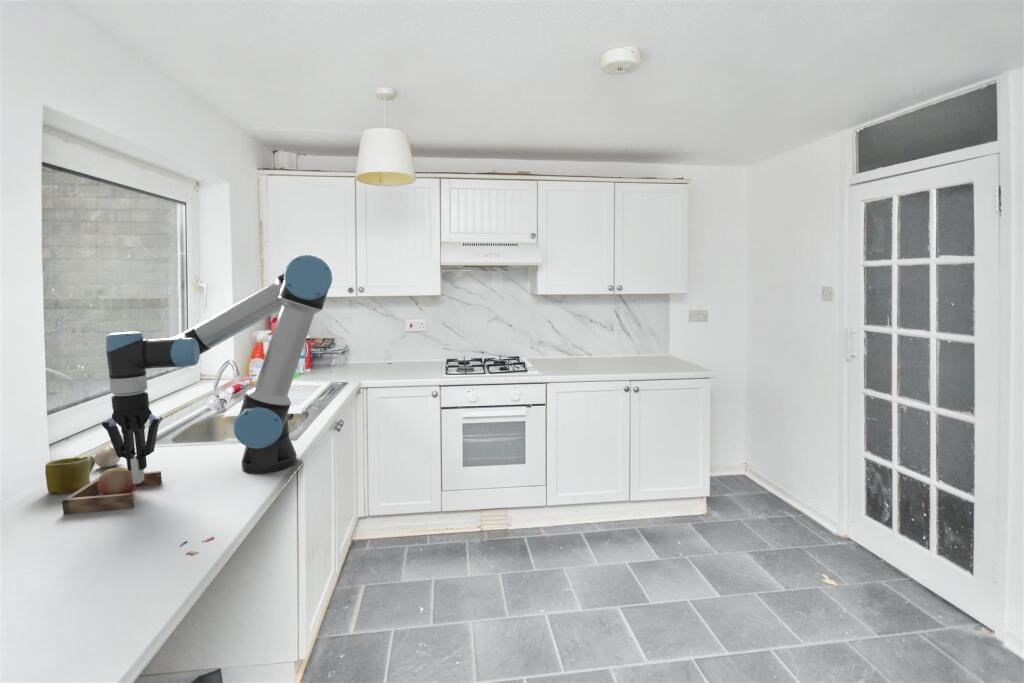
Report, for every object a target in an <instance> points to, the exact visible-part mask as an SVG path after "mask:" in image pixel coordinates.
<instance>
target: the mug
mask: <svg viewBox="0 0 1024 683" xmlns="http://www.w3.org/2000/svg"><path fill="white" fill-rule="evenodd" d="M94 457H95V456H93V455H85V456H82V457H78V456H77V457H68V458H67V457H66V458H60V459H54V460H51V461H48V462H46V463H45V468H44V470H45V472H44V473H45V481H46V482H45V483H46V488H47V492H48V493H50V494H51V495H53V494H54V495H55V494H57V495H58V494H66V493H75V492H76V491H78V490H79V489H81V488H83V487H84V486H86V485H87V484H89V483H90V482H91V479H90V478H91V477H90V475H91V472H92V471H93V470H94V467H95V465H96V463H95V459H94Z"/></svg>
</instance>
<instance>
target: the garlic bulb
mask: <svg viewBox="0 0 1024 683" xmlns="http://www.w3.org/2000/svg"><path fill="white" fill-rule="evenodd" d="M93 457H94V459H95V465H97V466H98V467H100V468H103V469H106V468H112V467H114V466H116V465H117V464H118V463H119V462H120V460H121V458H122V457H118V456H117V454H116V452H115V449H114V447H113V444H112V442H110V443H108V444H107V445H106V446H104V447H103V448H102V449H100V450H99V451H97V452H96V453H95V454H94V456H93Z"/></svg>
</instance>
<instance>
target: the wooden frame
mask: <svg viewBox="0 0 1024 683" xmlns="http://www.w3.org/2000/svg"><path fill="white" fill-rule="evenodd" d="M99 478H100V476H98V477H97V478H95V479H94V480H92V481H90V483H89V484H87V485H86V486H84V487H83V488H81V489H79V490H78V491H76V492H72V494H70V495H68V496H67V497H64V498H63V499H62V500H61V503H62V511H63V512H62V513H63V514H62V515H74V514H83V513H84V514H86V513H93V512H94V513H95V512H96V513H97V512H106V511H107V512H108V511H119V510H127V509H128V510H129V509H132V508H134V506H135V504H134V503H135V501H134V494H133V492H132V493H125V494H113V495H102V494H101V493H100V492H99V490H98V486H97V483H98V479H99ZM161 484H163V481H162V470H156V471H145V472H144V480H143V481H142V482H141V483H138V484H136V487H135V488H137V487H149V486H152V487H153V486H161ZM99 494H101V495H99Z"/></svg>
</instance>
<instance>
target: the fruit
mask: <svg viewBox="0 0 1024 683" xmlns="http://www.w3.org/2000/svg"><path fill="white" fill-rule="evenodd" d="M99 477H100V478H99V479H98V483H97V486H98V490H99V492H100V493H99V494H101V495H113V494H125V493H133V491H134V490H135V489H136V488H137V487H136V484H133V481H132V471H128V469H127V467H119V466H118V467H115V468H112V467H110V468H108V469H106V470H105V471H103V472H102V473H101V475H100V476H99Z"/></svg>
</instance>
